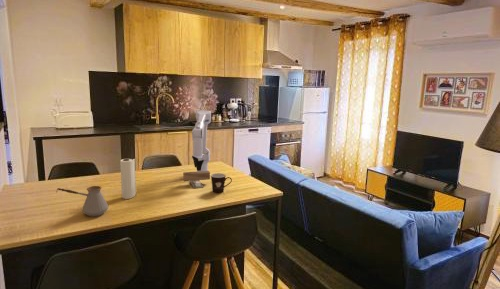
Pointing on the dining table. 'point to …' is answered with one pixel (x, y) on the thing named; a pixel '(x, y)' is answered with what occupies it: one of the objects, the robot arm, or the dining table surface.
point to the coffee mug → (218, 182)
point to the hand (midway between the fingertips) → (197, 168)
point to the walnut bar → (196, 175)
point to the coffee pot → (92, 201)
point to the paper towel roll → (128, 178)
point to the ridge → (196, 184)
